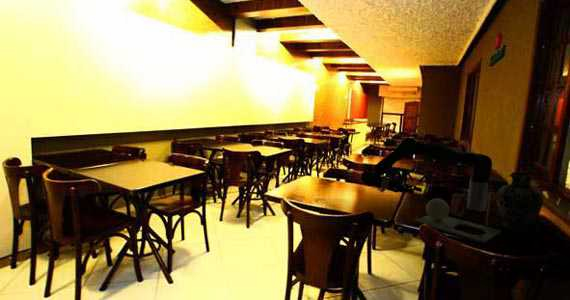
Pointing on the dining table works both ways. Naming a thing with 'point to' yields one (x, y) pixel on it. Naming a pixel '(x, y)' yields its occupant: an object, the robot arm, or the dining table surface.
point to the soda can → (458, 205)
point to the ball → (437, 209)
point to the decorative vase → (519, 202)
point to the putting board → (464, 224)
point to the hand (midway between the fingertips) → (417, 191)
